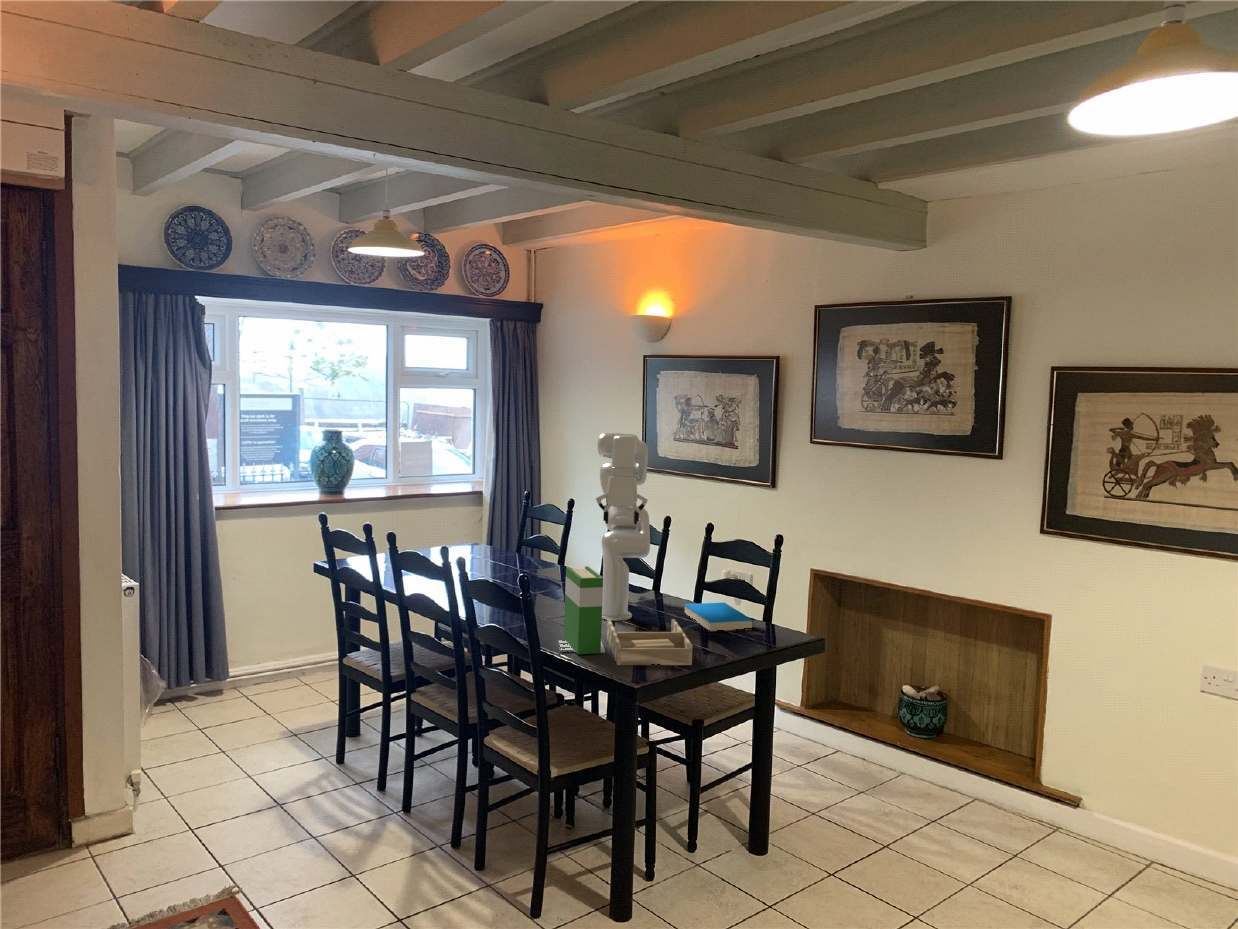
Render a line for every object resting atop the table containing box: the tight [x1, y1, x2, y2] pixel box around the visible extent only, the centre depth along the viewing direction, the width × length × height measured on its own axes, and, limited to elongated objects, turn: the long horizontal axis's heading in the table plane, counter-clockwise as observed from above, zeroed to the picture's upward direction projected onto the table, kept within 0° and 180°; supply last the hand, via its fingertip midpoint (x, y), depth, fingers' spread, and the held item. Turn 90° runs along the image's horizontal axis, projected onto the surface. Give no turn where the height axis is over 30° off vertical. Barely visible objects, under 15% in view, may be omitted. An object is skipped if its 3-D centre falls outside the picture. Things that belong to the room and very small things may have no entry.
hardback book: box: [563, 565, 603, 655], centre depth 290 cm, size 18×7×24 cm, turn 18°
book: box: [683, 602, 754, 632], centre depth 330 cm, size 17×4×25 cm
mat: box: [558, 640, 606, 654], centre depth 290 cm, size 12×14×1 cm
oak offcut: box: [631, 639, 674, 648], centre depth 280 cm, size 6×12×3 cm, turn 105°
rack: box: [606, 618, 694, 666], centre depth 290 cm, size 31×23×7 cm
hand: (620, 523), depth 302 cm, fingers open, 9 cm apart
